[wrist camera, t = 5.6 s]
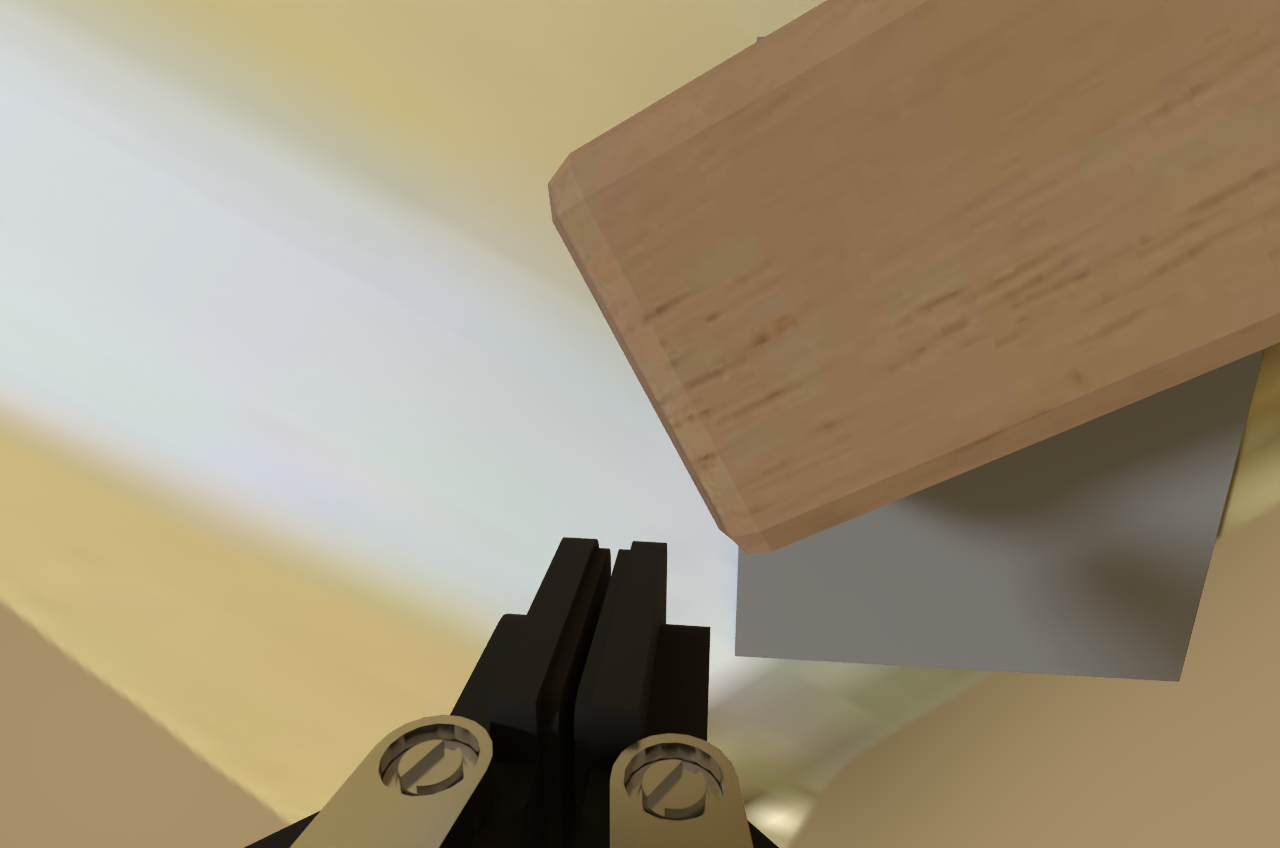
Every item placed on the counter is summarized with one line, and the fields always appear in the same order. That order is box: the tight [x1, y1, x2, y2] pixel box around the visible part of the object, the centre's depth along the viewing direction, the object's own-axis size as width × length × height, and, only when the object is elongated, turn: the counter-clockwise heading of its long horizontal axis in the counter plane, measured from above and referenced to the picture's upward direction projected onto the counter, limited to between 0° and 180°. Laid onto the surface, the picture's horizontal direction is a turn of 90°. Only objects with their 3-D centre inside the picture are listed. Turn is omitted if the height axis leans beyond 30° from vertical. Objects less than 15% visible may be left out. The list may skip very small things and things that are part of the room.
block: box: [548, 0, 1280, 554], centre depth 18 cm, size 10×10×20 cm
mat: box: [735, 37, 1265, 681], centre depth 25 cm, size 22×16×1 cm
